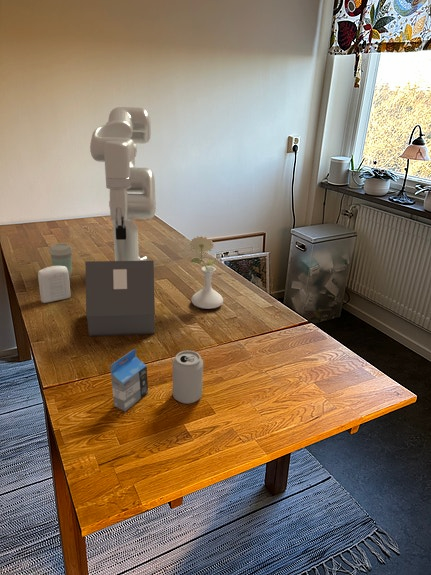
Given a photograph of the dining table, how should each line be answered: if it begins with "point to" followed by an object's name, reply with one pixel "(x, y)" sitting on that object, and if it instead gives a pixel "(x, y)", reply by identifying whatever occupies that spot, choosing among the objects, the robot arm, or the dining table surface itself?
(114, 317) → the box
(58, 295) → the photo printer
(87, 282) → the mailer lid
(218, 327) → the dining table surface
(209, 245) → the flower in vase
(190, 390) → the can
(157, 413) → the dining table surface
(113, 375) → the label tape box
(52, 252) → the coffee cup
